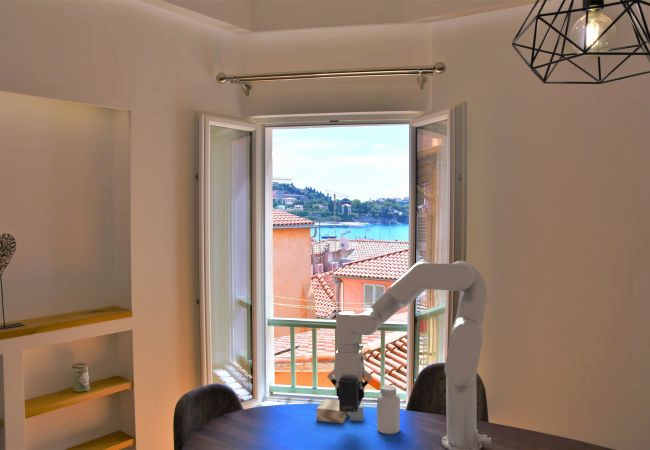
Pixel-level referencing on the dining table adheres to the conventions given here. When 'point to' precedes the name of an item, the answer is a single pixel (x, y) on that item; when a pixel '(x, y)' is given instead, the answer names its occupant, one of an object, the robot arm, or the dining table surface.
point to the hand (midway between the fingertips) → (350, 398)
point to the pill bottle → (388, 410)
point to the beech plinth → (331, 412)
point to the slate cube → (357, 414)
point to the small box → (348, 395)
